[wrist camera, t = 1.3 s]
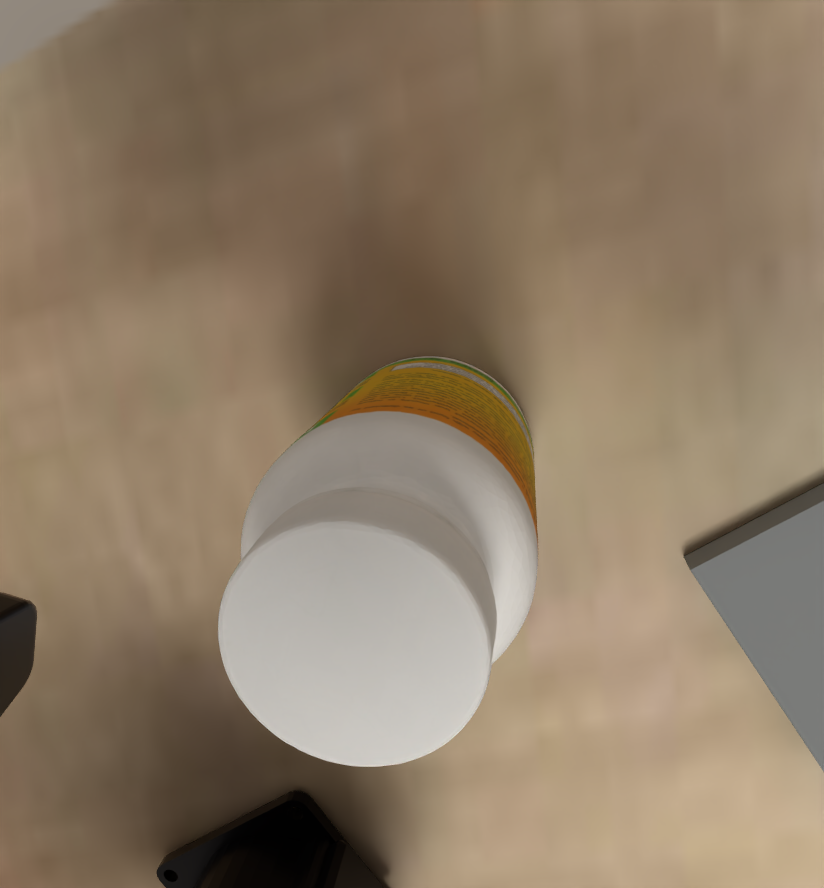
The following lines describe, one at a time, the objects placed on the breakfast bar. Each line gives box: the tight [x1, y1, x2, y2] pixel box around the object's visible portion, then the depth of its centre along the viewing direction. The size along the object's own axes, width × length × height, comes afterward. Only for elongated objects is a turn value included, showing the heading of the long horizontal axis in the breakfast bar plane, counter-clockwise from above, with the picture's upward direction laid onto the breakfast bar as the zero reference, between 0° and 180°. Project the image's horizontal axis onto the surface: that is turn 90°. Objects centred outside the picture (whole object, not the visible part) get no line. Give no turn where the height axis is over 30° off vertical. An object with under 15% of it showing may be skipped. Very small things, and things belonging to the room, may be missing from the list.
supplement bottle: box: [218, 356, 538, 767], centre depth 15 cm, size 5×5×10 cm
